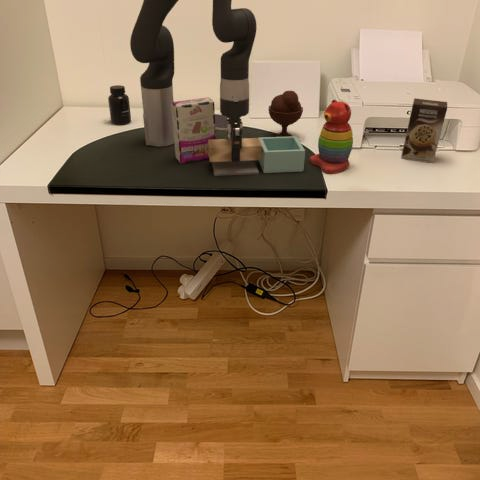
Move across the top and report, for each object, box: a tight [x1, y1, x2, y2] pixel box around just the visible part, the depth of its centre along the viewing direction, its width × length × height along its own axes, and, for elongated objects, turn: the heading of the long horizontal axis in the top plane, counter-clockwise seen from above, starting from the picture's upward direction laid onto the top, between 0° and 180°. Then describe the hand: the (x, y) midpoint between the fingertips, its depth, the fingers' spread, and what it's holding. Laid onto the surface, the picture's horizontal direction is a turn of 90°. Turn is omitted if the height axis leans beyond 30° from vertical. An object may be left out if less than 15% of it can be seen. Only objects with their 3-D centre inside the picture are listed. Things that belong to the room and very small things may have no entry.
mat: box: [211, 160, 260, 177], centre depth 131 cm, size 12×11×1 cm
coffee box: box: [400, 97, 448, 163], centre depth 134 cm, size 9×6×16 cm
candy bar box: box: [171, 97, 217, 164], centre depth 131 cm, size 11×5×16 cm, turn 115°
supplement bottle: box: [107, 84, 132, 126], centre depth 158 cm, size 7×7×12 cm
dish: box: [257, 135, 306, 174], centre depth 131 cm, size 11×11×6 cm
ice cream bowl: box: [268, 90, 304, 137], centre depth 147 cm, size 11×11×15 cm
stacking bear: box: [308, 99, 354, 175], centre depth 128 cm, size 11×10×18 cm
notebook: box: [215, 113, 227, 131], centre depth 163 cm, size 13×2×21 cm
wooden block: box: [208, 137, 262, 163], centre depth 128 cm, size 14×6×4 cm, turn 97°
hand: (234, 156), depth 129 cm, fingers closed on wooden block, 6 cm apart
